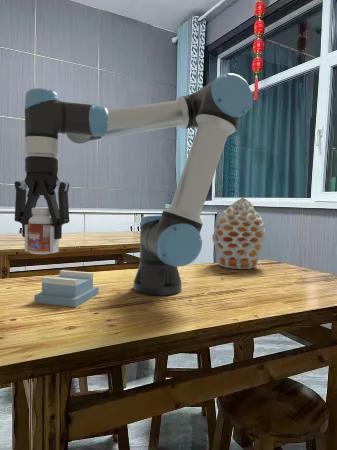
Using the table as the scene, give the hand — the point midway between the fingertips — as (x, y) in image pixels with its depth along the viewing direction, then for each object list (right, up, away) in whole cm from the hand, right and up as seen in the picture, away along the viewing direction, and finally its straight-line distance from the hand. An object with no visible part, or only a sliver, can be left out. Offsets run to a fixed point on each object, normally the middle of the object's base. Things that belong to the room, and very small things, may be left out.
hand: (41, 251), depth 90 cm
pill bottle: (0, -1, 0) cm, 1 cm away
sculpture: (+61, -12, +67) cm, 91 cm away
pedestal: (+3, -14, +12) cm, 19 cm away
